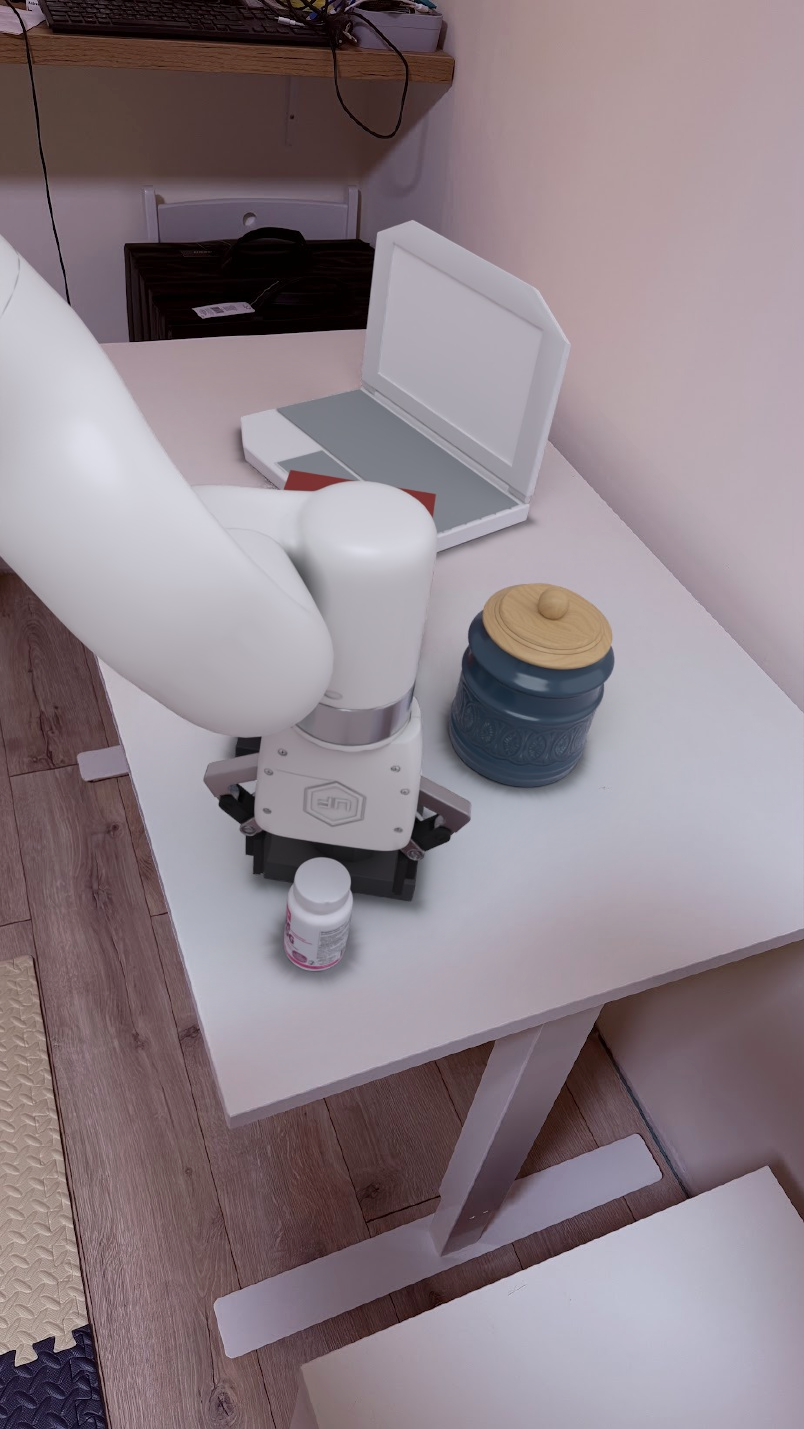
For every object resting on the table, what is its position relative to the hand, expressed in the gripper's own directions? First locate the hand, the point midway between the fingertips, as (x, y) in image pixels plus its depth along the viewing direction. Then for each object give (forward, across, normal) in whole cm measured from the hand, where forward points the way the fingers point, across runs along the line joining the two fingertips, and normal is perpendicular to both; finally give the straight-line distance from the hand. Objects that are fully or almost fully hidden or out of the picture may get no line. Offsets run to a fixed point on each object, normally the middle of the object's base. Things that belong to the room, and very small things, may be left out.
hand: (330, 868), depth 71 cm
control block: (+10, 0, +10) cm, 14 cm away
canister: (+10, +14, +26) cm, 31 cm away
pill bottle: (+10, -1, 0) cm, 10 cm away
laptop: (+10, -5, +69) cm, 70 cm away
